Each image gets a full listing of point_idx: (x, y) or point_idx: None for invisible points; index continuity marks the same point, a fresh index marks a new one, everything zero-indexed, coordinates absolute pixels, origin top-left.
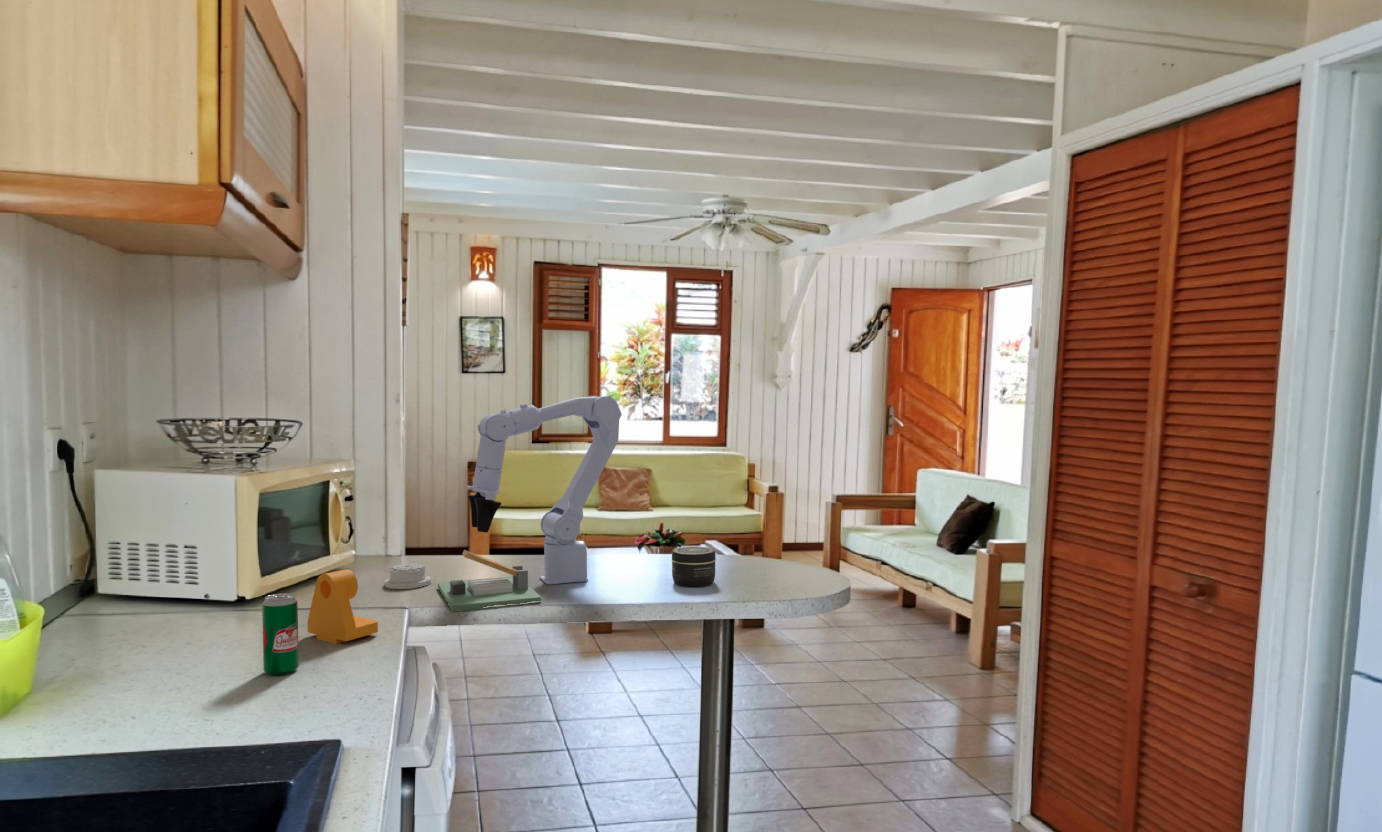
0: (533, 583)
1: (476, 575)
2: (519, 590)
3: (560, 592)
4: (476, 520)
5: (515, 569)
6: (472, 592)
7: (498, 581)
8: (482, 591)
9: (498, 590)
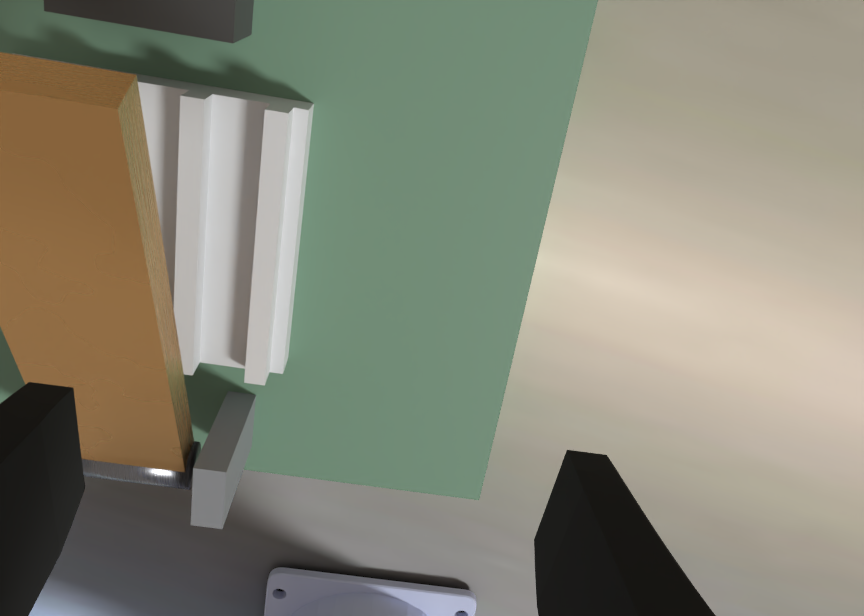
0: (371, 522)
1: (828, 324)
2: None
3: (71, 556)
4: (570, 565)
5: (166, 461)
6: (93, 67)
7: None
8: None
9: None
